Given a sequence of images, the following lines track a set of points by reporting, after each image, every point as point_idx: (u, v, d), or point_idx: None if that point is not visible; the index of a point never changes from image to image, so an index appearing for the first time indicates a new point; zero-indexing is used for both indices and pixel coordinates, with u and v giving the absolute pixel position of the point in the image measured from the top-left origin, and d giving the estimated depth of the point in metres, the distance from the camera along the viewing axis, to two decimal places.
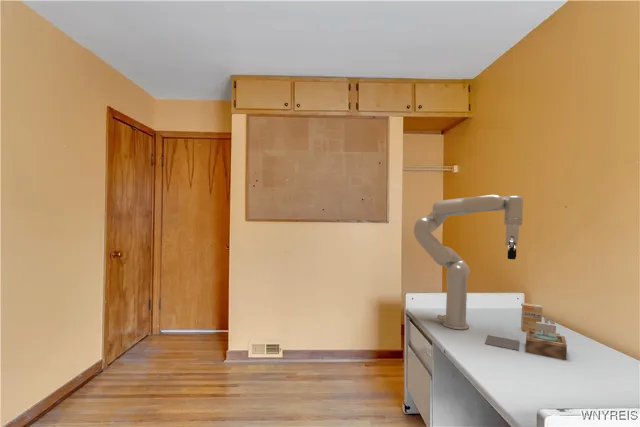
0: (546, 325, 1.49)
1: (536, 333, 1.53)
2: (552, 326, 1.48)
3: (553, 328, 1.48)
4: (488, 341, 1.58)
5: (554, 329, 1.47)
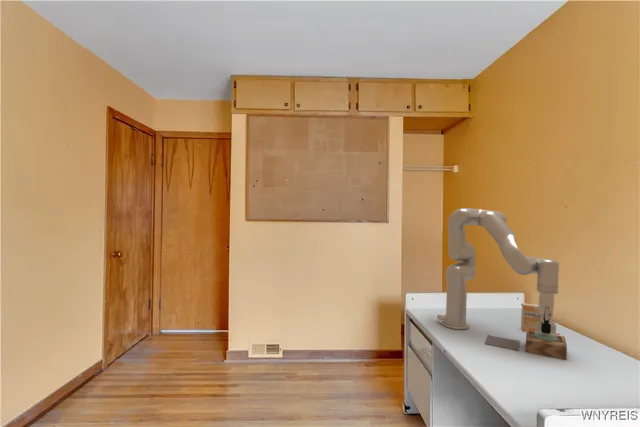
0: None
1: (536, 332, 1.53)
2: (552, 326, 1.48)
3: (553, 328, 1.48)
4: (488, 341, 1.58)
5: (554, 329, 1.47)
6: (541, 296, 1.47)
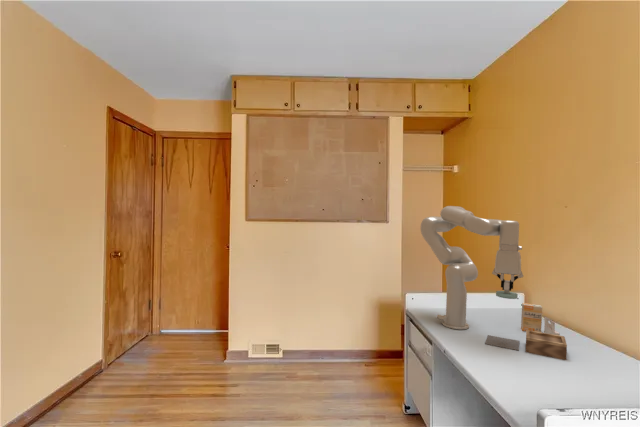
0: None
1: (511, 292, 1.59)
2: (504, 283, 1.56)
3: (504, 285, 1.56)
4: (488, 341, 1.58)
5: (504, 286, 1.55)
6: None
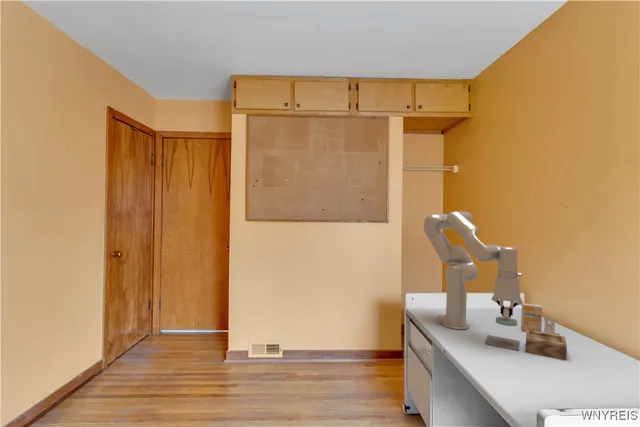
0: (504, 308, 1.58)
1: (510, 318, 1.59)
2: None
3: None
4: (488, 341, 1.58)
5: None
6: None
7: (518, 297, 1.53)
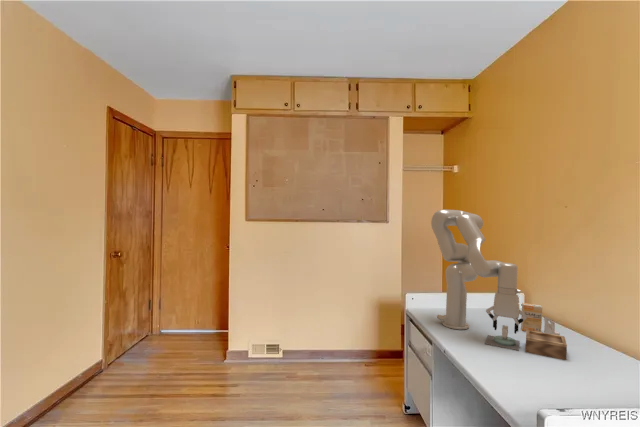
0: (502, 328, 1.58)
1: (509, 337, 1.59)
2: (502, 329, 1.56)
3: (502, 331, 1.56)
4: (488, 341, 1.58)
5: (502, 332, 1.55)
6: None
7: (517, 314, 1.53)
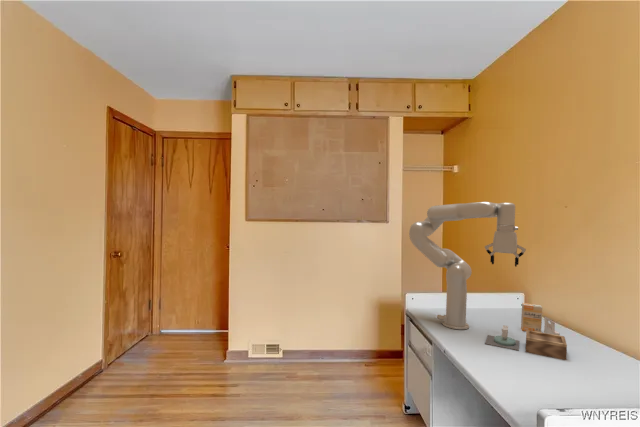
0: (502, 328, 1.58)
1: (509, 337, 1.59)
2: (502, 329, 1.56)
3: (502, 331, 1.56)
4: (488, 341, 1.58)
5: (502, 332, 1.55)
6: None
7: (515, 249, 1.64)
